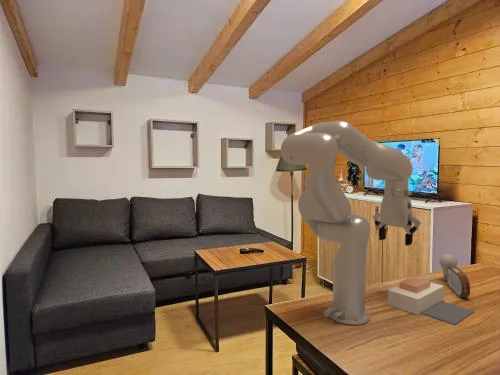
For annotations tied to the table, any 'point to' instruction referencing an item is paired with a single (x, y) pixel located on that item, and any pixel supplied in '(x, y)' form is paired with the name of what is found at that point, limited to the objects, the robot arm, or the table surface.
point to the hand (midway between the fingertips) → (395, 242)
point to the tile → (414, 284)
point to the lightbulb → (447, 263)
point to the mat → (447, 312)
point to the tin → (458, 281)
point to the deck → (415, 298)
